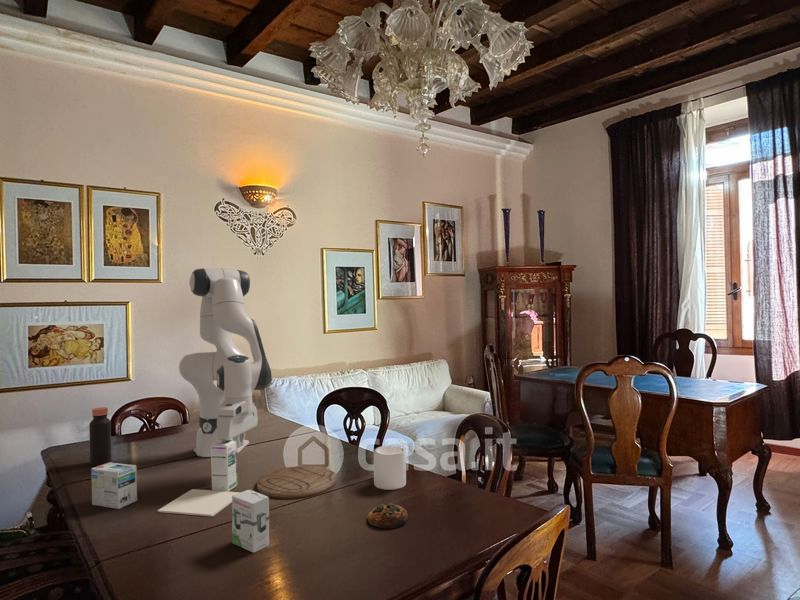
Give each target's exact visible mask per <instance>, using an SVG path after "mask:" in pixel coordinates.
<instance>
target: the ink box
mask: <svg viewBox="0 0 800 600" xmlns="http://www.w3.org/2000/svg"><path fill="white" fill-rule="evenodd" d="M231 525H232V526H231V543H232V544H233V545H235V546H237V547H240V548H243V549H244V550H247V551H248V552H251V553H256V552H258V551H260V550H262V549H264V548H266V547H268V546H269V545H270V497H268V496H265V495H263V494H261V493H260V492H257V491H254V490H252V489H246V490H244V491H241V492H240V493H238V494H236V495H233V496H232V502H231Z"/></svg>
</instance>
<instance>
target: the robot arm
mask: <svg viewBox="0 0 800 600" xmlns="http://www.w3.org/2000/svg"><path fill="white" fill-rule="evenodd" d="M250 279H251V278H250V275H249V274H248V272H246V271H244V270H240V269H237V270H236V269H235V270H234V269H229V268H223V267H222V268H203V267H202V268H196V269H194V270H193V271H192V273H191V275H190V278H189V281H188V282H189V287H190V291H191V293H192V294H193V295H195V296H198V297H201V300H200V301H201V302H200V312H199V335H200V338H201V339H202V340H203V341H205V343H206V342H207V343H208V344H211V345H213V346H215V347H216V351H211V352H205V351H204V352H194V353H191V354H186V355H184V356H183V357H182V358H181V360H180V362H179V366H178V370H179V373H180V376H181V377H182V378H183V379H184V380H185V381H187V382H188V383H190V384H191V386H192V387H193V388H194V390H195V391H196V394H197V395H198V400H199V412H200V413H199V414H200V416H199V418H198V427H199V429H198V430H197V431H196V443H195V446H196V447H194V448H193V452H195V454H196V455H197V456H198V457H200V458H211V445H213V444H215V443H217V442H219V441H221V440H233V441H236V447H237V454H239V453H240V452H241V451H242V450H243V449H244V448H246V446H247V445H249V443H250V441H249V440H248V439H245V437H246V434H247V433H246V432H247V431H250V430H251V429H253V428H255V427H257V426H258V421H259V420H258V419H259V418H258V409H257V406H255V402H254V401H253V392H252V391H264V390H266V389H267V388H268V387H269V386H270V384H271V383H272V381H273V374H272V370H271V367H270V363H269V362H268V358H267V356H266V352H265V348H264V345H263V341H262V338H261V335H260V332H259V328H258V325H257V323H256V321H255V319H252V318H251V317H250V316H249V314H248V313H247V311H246V307H245V299H244V297H245V296H247V294H248V293H249V291H250V287H251V280H250ZM231 333H232V334H234V335H237V336H240V337H242V338H244V339H245V340H246V341H247V343H248V345H249V348H250V352H251V357H252V361H253V362H252V361H251V359H250V358H249V356H247V355H246V353H244V352H242V350H240V349H239V348H238V347H237V346H236V345H235V343H234V340H233V338H232V334H231ZM214 381H216V385H215V382H214Z"/></svg>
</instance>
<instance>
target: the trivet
mask: <svg viewBox="0 0 800 600" xmlns="http://www.w3.org/2000/svg"><path fill="white" fill-rule="evenodd" d="M256 484H257V485H256V488H257V489H256V490H257V491H258V493H260V494H263V495H265V496H268V498H273V499H283V500H290V499H291V500H292V499H293V500H294V499H303V498H304V499H305V498H309V497H314V496H318V495H321V494H324V493H326V492H328V491H329V490H331V489H333V488H334V487H335V485H336V484H337V474H336V473H335V472H334V471H333V470H331V469H329V468H328V467H323V466H318V465H317V466H316V465H315V466H314V465H297V466H289V467H288V466H287V467H282V468H278V469H274V470H272V471H269V472H267V473H265V474H263V475H262V476H260V477H259V478H258V480H257V481H256Z"/></svg>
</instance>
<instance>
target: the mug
mask: <svg viewBox="0 0 800 600" xmlns="http://www.w3.org/2000/svg"><path fill="white" fill-rule="evenodd" d="M406 454H407V452H406V448H405V447H402V446H400V445H382V446H378V447H376V448H374V450H373V485H374V487H376V488H377V489H381V490H398V489H401V488H404V487H405V486H406V484H407V466H406V465H407V463H406V462H407V461H406V460H407V459H406V458H407V457H406V456H407V455H406Z"/></svg>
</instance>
